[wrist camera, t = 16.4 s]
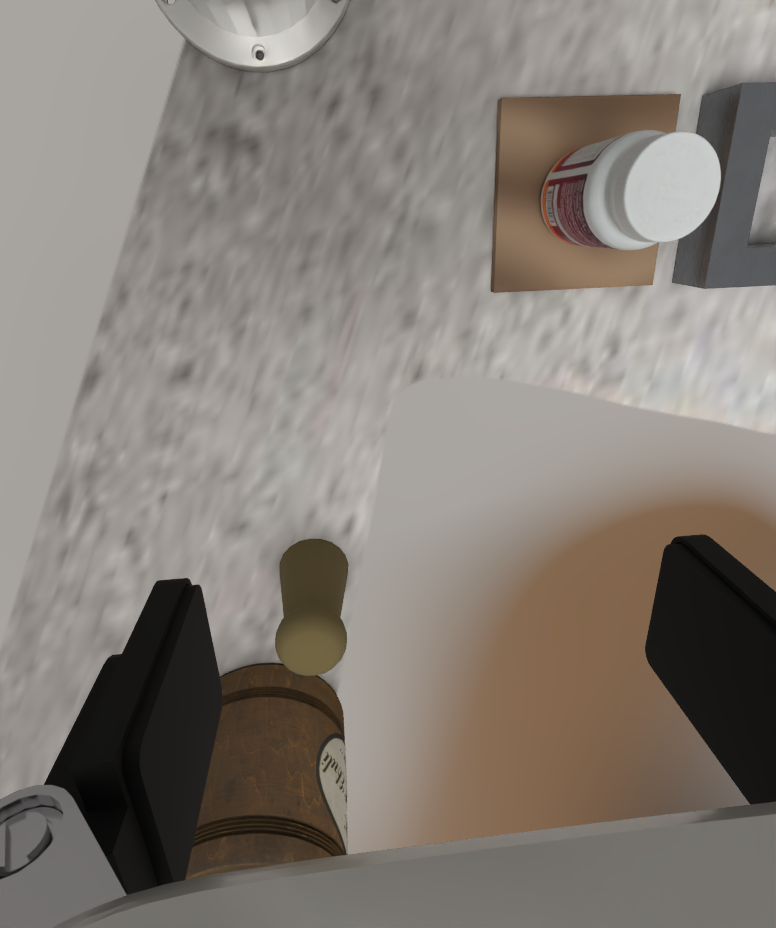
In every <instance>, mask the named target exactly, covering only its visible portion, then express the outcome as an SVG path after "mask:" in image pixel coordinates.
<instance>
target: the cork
mask: <svg viewBox="0 0 776 928" xmlns="http://www.w3.org/2000/svg"><path fill="white" fill-rule="evenodd" d="M347 574H348V562H347V559H346V556H345V554H344V553H343V552H342V551H341V549H340V548H339V547H337V546H336V545H334V544H333V543H331V542H328V541H325V540H321V539H308V540H304V541H300V542H298V543H296V544H294V545H293V546H291V547H290V548H289V549H288V550H287V551H286V552H285V553H284V554H283V556H282V559H281V562H280V581H281V592H282V602H283V613H284V618H283V619H282V621H281V623H280V625H279V627H278V630H277V632H276V638H275V647H276V652H277V654H278V657H279V659H280V661H281V662H282V663H283V664H284V665H285V666H286V667H287V668H288V669H289V670H291V671H292V672H294V673H296V674H300V675H304V676H316V675H319V674H323V673H326V672H327V671H329V670H331V669H332V668H333V667H334V666H335V665H336V664H337V663H338V662H339V661H340V660H341V659H342V657H343V655H344V652H345V650H346V644H347V632H346V630H345V627H344V624H343V622H342V620H341V618H340V616H341V610H342V604H343V598H344V592H345V586H346V580H347Z"/></svg>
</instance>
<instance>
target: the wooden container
mask: <svg viewBox="0 0 776 928" xmlns="http://www.w3.org/2000/svg"><path fill="white" fill-rule="evenodd" d="M220 682H221V687H222V695H223V702H222V710H221V715H220V720H219V725H218V729H217V734H216V739H215V743H214V748H213V753H212V757H211V762H210V767H209V771H208V776H207V781H206V785H205V790H204V795H203V799H202V804H201V809H200V813H199V818H198V823H197V828H196V832H195V837H194V842H193V846H192V851H191V856H190V860H189V865H188V870H187V874H186V879H185V880H189V879H194V878H199V877H204V876H209V875H214V874H219V873H225V872H232V871H239V870H245V869H252V868H259V867H266V866H272V865H279V864H286V863H293V862H299V861H306V860H313V859H320V858H327V857H335V856H342V855H348V840H347V839H348V838H347V781H346V756H345V741H344V740H345V737H344V718H343V710H342V706H341V703H340V701H339V699H338V697H337V695H336V694H335V692H334V691H333V690H332V688H331V687H330V686H329V685H328V684H326V683H325V682H324V681H323V680H322V679H320V678H319V677H317V676H304V675H300V674H296V673H294V672H292V671H291V670H289V669H288V668H287V667H286V666H285V665H276V664H271V665H270V664H267V665H257V666H250V667H245V668H242V669H240V670H236V671H233V672H231V673H229V674H227V675H225V676H223V677H221V678H220Z"/></svg>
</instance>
